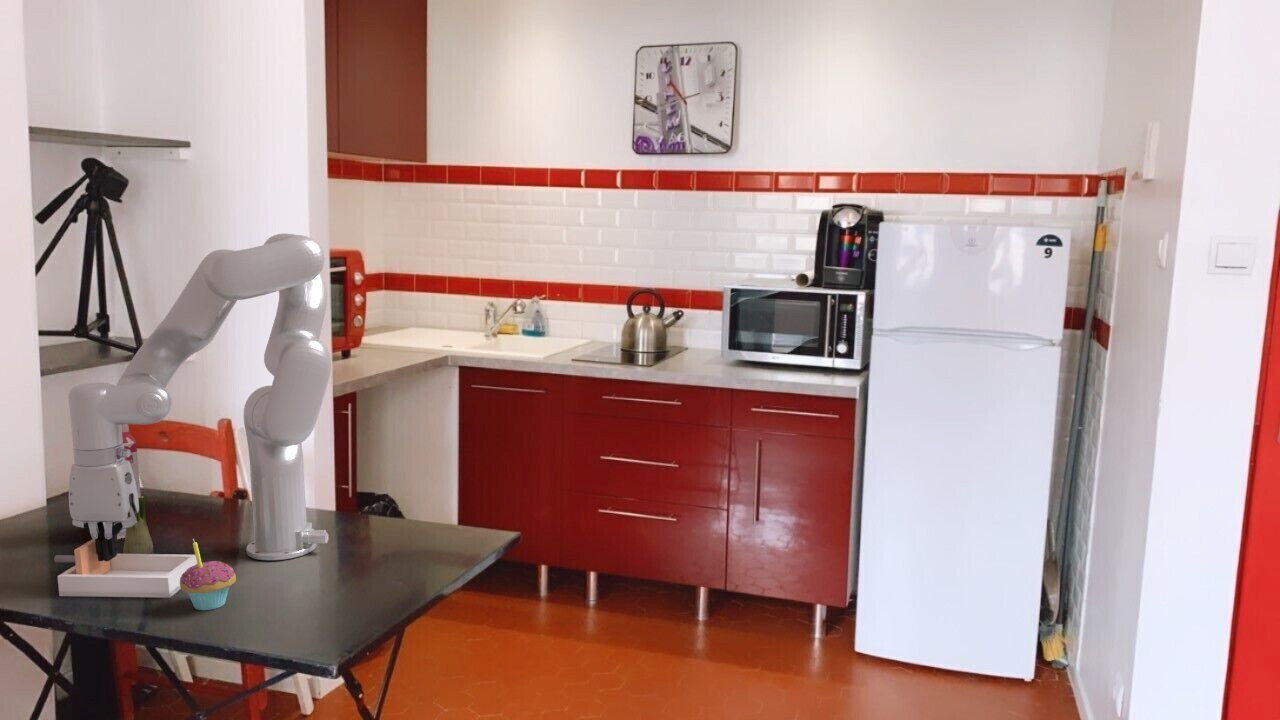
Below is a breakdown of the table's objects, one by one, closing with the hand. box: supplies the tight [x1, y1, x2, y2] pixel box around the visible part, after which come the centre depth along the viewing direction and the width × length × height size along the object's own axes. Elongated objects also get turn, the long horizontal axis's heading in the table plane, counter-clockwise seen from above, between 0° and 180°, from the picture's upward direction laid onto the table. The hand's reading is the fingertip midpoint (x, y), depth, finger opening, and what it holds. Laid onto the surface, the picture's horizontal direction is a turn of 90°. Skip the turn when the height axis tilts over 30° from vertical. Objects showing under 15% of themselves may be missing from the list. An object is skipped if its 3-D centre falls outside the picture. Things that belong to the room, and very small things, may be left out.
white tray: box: [57, 553, 197, 599], centre depth 177 cm, size 19×11×4 cm, turn 88°
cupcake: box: [180, 538, 237, 611], centre depth 168 cm, size 9×8×12 cm
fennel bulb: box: [122, 495, 154, 554], centre depth 187 cm, size 6×5×12 cm
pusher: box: [53, 538, 111, 575], centre depth 177 cm, size 7×8×7 cm
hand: (107, 558), depth 176 cm, fingers closed
